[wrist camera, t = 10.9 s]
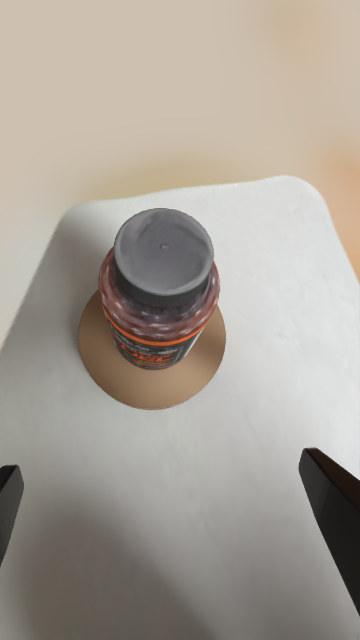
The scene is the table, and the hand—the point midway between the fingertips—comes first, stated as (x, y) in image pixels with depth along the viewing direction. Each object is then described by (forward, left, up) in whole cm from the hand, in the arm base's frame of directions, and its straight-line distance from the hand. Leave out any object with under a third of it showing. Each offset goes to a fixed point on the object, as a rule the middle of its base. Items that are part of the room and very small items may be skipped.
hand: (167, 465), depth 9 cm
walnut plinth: (+7, +3, -13) cm, 15 cm away
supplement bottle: (+7, +3, -11) cm, 13 cm away
